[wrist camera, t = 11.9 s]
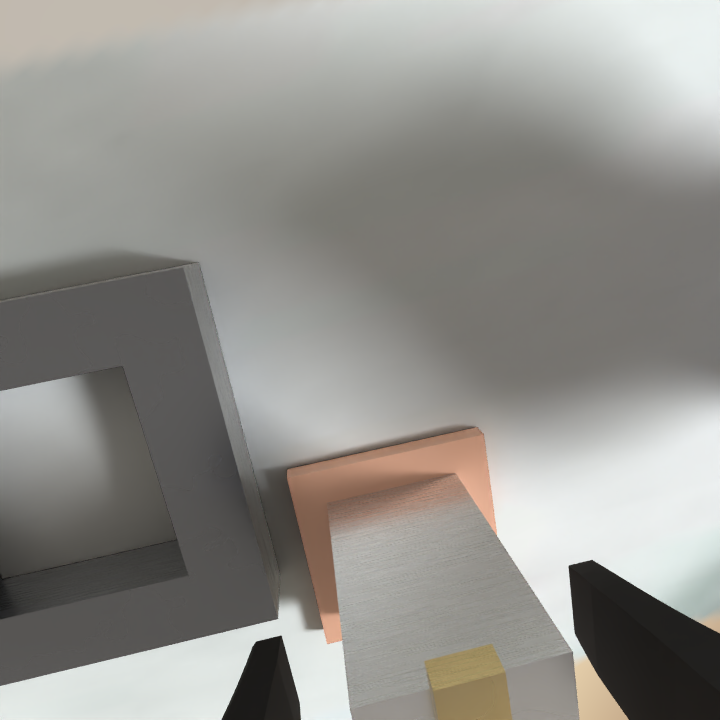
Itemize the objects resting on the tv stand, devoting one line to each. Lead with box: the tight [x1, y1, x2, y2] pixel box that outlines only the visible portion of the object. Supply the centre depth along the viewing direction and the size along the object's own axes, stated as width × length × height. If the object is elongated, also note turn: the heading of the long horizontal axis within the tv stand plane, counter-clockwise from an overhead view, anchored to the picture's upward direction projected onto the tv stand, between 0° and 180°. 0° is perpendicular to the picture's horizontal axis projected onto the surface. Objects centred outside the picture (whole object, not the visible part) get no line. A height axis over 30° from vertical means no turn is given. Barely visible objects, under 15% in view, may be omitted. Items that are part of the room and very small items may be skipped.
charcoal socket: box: [0, 262, 280, 686], centre depth 14 cm, size 10×10×2 cm
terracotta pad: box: [287, 427, 497, 644], centre depth 17 cm, size 6×6×1 cm
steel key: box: [327, 473, 579, 720], centre depth 13 cm, size 5×4×8 cm
